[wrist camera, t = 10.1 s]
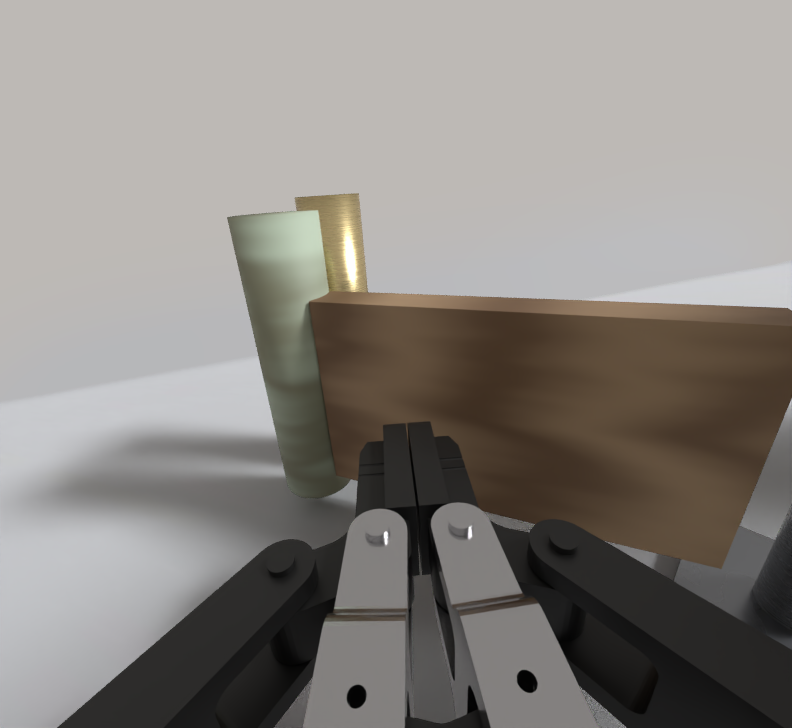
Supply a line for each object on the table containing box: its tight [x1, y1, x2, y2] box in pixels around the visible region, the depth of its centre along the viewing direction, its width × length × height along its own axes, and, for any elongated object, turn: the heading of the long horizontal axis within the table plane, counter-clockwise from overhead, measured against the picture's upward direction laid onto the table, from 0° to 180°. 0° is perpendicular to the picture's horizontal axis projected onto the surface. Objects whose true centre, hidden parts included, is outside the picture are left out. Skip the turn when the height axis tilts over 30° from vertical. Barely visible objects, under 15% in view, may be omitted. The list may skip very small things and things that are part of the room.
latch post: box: [295, 194, 368, 292], centre depth 20 cm, size 4×4×14 cm
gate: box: [227, 210, 792, 569], centre depth 14 cm, size 17×3×12 cm, turn 68°
